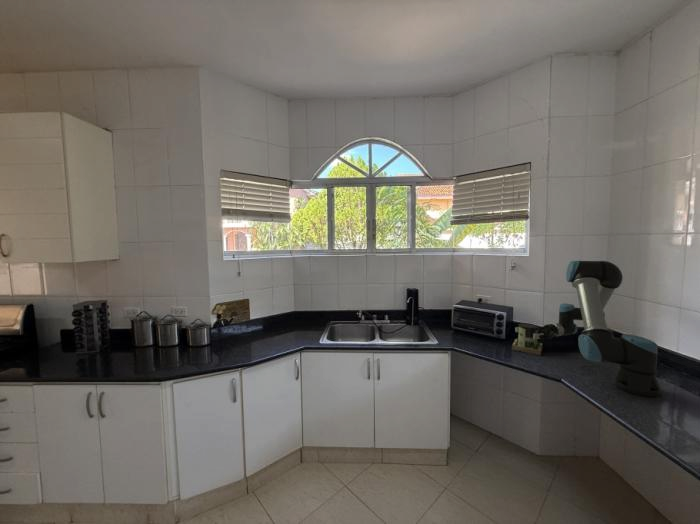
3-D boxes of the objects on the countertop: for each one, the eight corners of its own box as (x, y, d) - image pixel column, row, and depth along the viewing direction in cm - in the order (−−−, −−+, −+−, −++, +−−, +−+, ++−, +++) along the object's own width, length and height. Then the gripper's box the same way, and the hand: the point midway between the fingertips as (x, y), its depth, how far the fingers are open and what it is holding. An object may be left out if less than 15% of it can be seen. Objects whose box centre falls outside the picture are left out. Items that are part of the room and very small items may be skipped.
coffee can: (539, 348, 181) (541, 325, 180) (533, 352, 175) (534, 329, 173) (521, 343, 189) (522, 321, 188) (514, 347, 182) (515, 325, 181)
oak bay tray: (540, 355, 172) (540, 350, 171) (512, 350, 180) (512, 345, 180) (542, 347, 183) (542, 343, 183) (515, 343, 192) (515, 338, 192)
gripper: (572, 342, 174) (541, 346, 169) (536, 329, 198) (508, 332, 193) (572, 330, 173) (542, 333, 168) (536, 318, 197) (509, 321, 192)
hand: (524, 333), depth 180 cm, fingers open, 13 cm apart
